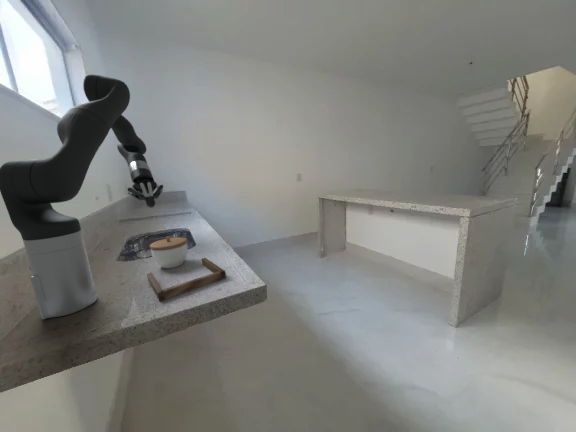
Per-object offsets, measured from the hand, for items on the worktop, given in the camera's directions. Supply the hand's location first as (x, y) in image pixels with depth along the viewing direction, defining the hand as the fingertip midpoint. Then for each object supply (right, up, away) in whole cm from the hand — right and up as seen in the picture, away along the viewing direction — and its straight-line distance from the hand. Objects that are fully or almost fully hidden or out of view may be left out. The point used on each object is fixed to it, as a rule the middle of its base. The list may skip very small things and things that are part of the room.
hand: (151, 206), depth 90 cm
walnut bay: (+24, -21, -24) cm, 40 cm away
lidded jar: (+14, -20, -13) cm, 28 cm away
